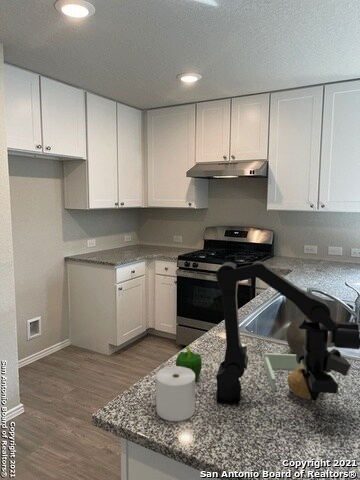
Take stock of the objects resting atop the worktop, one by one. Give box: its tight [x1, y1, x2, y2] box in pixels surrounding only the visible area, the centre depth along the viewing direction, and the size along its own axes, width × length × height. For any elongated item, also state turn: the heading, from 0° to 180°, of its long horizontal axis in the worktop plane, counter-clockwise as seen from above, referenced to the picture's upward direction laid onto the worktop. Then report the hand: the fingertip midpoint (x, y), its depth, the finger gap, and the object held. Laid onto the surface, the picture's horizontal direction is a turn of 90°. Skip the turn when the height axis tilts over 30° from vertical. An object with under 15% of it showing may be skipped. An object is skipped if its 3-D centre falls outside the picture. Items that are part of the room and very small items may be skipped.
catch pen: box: [263, 352, 339, 396], centre depth 110 cm, size 19×16×5 cm
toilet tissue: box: [155, 362, 196, 422], centre depth 94 cm, size 11×12×10 cm
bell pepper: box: [175, 346, 203, 382], centre depth 110 cm, size 8×8×10 cm
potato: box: [287, 366, 321, 399], centre depth 102 cm, size 10×14×8 cm
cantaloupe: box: [286, 315, 322, 354], centre depth 127 cm, size 14×14×15 cm
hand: (314, 400), depth 93 cm, fingers closed
